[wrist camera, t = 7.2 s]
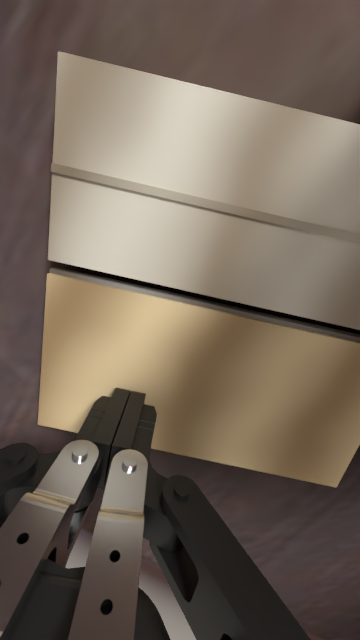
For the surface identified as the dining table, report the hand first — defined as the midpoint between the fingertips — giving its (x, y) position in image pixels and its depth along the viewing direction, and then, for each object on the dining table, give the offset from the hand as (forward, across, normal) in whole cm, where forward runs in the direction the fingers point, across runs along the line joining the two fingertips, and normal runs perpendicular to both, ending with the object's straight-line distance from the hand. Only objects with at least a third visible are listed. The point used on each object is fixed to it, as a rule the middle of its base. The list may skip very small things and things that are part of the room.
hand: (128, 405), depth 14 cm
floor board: (+2, -4, -10) cm, 10 cm away
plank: (+1, -4, -2) cm, 4 cm away
